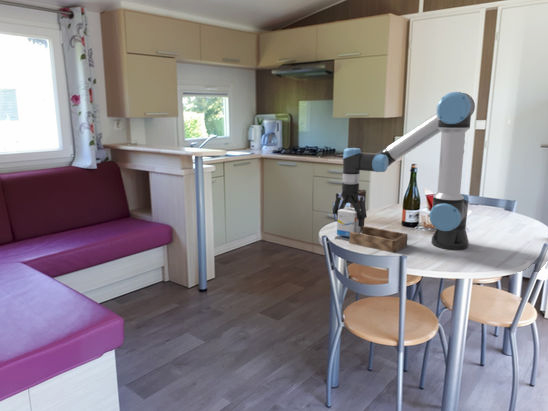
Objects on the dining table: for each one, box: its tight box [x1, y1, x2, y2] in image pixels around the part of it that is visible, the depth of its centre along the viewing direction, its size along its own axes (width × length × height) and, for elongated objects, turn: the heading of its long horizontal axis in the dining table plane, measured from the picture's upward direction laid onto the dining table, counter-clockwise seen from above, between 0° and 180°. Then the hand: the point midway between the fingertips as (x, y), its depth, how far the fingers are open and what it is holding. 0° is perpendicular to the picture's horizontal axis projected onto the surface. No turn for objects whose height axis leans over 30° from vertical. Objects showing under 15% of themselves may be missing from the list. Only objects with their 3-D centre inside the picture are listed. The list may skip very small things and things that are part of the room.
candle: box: [349, 189, 367, 231], centre depth 214 cm, size 8×7×20 cm
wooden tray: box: [348, 225, 409, 254], centre depth 195 cm, size 21×13×5 cm, turn 52°
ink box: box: [336, 206, 361, 237], centre depth 203 cm, size 9×8×12 cm
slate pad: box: [334, 235, 350, 242], centre depth 204 cm, size 8×10×1 cm
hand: (348, 230), depth 204 cm, fingers closed on ink box, 9 cm apart
